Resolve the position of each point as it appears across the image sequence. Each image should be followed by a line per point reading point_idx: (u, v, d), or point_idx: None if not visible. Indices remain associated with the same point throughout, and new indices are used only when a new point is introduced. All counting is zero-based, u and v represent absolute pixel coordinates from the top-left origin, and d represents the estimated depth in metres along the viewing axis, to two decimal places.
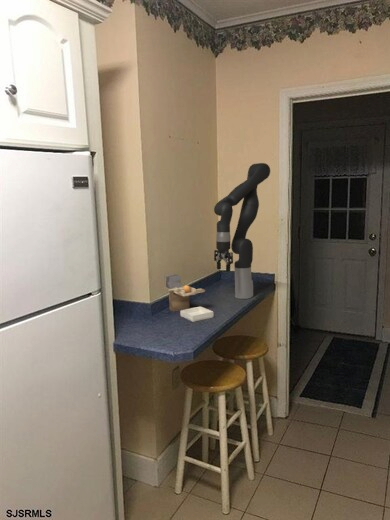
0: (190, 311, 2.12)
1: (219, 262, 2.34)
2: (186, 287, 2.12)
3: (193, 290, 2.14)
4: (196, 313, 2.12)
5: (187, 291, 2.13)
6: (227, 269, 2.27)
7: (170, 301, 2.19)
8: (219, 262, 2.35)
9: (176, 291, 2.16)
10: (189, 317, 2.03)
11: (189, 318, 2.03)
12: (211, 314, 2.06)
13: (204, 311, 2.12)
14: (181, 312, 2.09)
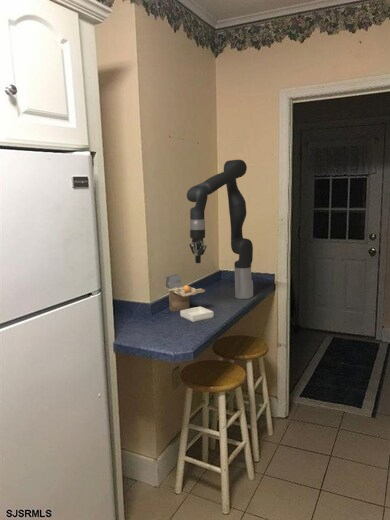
0: (190, 311, 2.12)
1: None
2: (186, 287, 2.12)
3: (193, 290, 2.14)
4: (196, 313, 2.12)
5: (187, 291, 2.13)
6: (197, 261, 2.14)
7: (170, 301, 2.19)
8: None
9: (176, 291, 2.16)
10: (189, 317, 2.03)
11: (189, 318, 2.03)
12: (211, 314, 2.06)
13: (204, 311, 2.12)
14: (181, 312, 2.09)
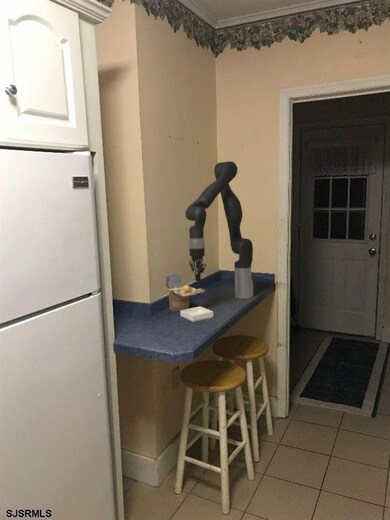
0: (190, 311, 2.12)
1: None
2: (186, 287, 2.12)
3: (193, 290, 2.14)
4: (196, 313, 2.12)
5: (187, 291, 2.13)
6: (197, 279, 2.15)
7: (170, 301, 2.19)
8: None
9: (176, 291, 2.16)
10: (189, 317, 2.03)
11: (189, 318, 2.03)
12: (211, 314, 2.06)
13: (204, 311, 2.12)
14: (181, 312, 2.09)
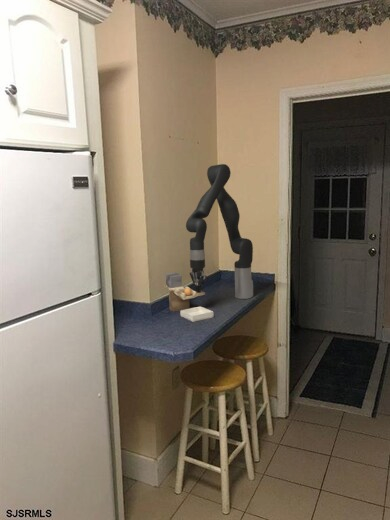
0: (190, 311, 2.12)
1: None
2: (188, 292, 2.11)
3: (193, 293, 2.14)
4: (196, 313, 2.12)
5: None
6: (198, 290, 2.16)
7: (170, 301, 2.19)
8: None
9: (176, 292, 2.16)
10: (189, 317, 2.03)
11: (189, 318, 2.03)
12: (211, 314, 2.06)
13: (204, 311, 2.12)
14: (181, 312, 2.09)
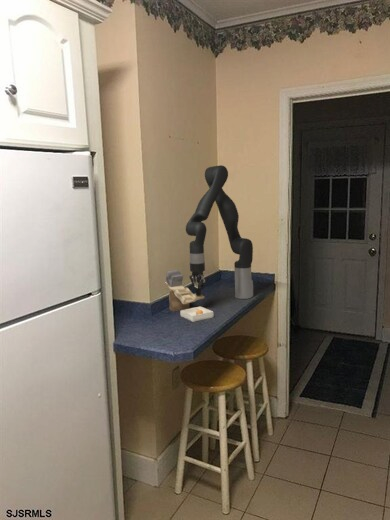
0: (190, 311, 2.12)
1: None
2: None
3: (193, 298, 2.14)
4: None
5: None
6: (198, 293, 2.17)
7: (170, 301, 2.19)
8: None
9: (176, 294, 2.16)
10: (189, 317, 2.03)
11: (189, 318, 2.03)
12: (211, 314, 2.06)
13: (204, 311, 2.12)
14: (181, 312, 2.09)
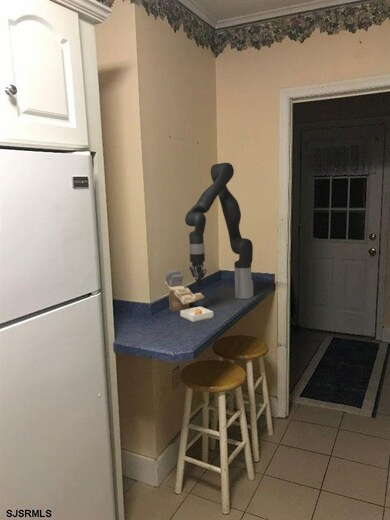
0: (190, 311, 2.12)
1: None
2: (198, 312, 2.05)
3: (193, 298, 2.14)
4: None
5: None
6: (198, 284, 2.16)
7: (170, 301, 2.19)
8: None
9: (176, 294, 2.16)
10: (189, 317, 2.03)
11: (189, 318, 2.03)
12: (211, 314, 2.06)
13: (204, 311, 2.12)
14: (181, 312, 2.09)
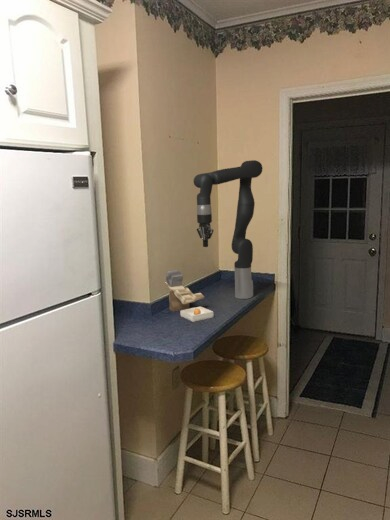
0: (190, 311, 2.12)
1: None
2: (196, 310, 2.06)
3: (193, 298, 2.14)
4: None
5: None
6: (205, 244, 2.22)
7: (170, 301, 2.19)
8: None
9: (176, 294, 2.16)
10: (189, 317, 2.03)
11: (189, 318, 2.03)
12: (211, 314, 2.06)
13: (204, 311, 2.12)
14: (181, 312, 2.09)
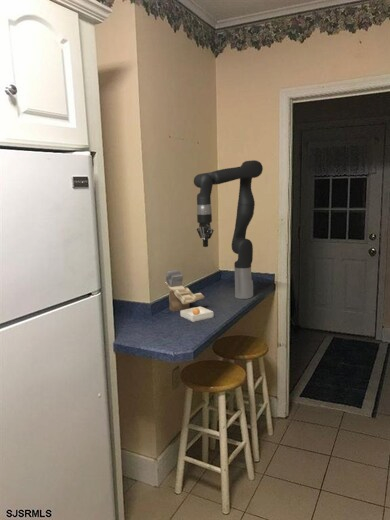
0: (190, 311, 2.12)
1: None
2: (195, 309, 2.08)
3: (193, 298, 2.14)
4: None
5: (197, 312, 2.07)
6: (205, 244, 2.22)
7: (170, 301, 2.19)
8: None
9: (176, 294, 2.16)
10: (189, 317, 2.03)
11: (189, 318, 2.03)
12: (211, 314, 2.06)
13: (204, 311, 2.12)
14: (181, 312, 2.09)
